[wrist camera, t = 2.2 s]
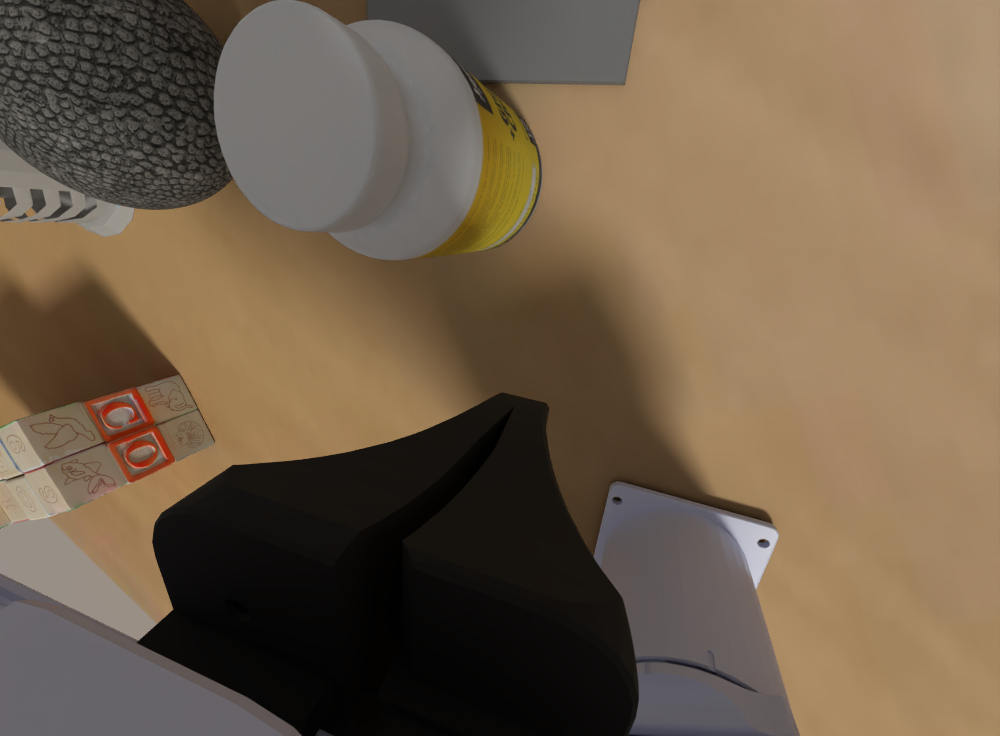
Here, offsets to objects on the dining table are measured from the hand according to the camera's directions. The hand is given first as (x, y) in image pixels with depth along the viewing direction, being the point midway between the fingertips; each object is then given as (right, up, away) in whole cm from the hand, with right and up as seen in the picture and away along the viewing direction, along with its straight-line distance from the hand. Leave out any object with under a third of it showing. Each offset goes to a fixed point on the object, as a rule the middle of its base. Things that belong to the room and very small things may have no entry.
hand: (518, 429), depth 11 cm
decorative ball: (-16, +16, +13) cm, 26 cm away
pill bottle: (-1, +11, +9) cm, 14 cm away
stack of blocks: (-33, -4, +26) cm, 42 cm away
